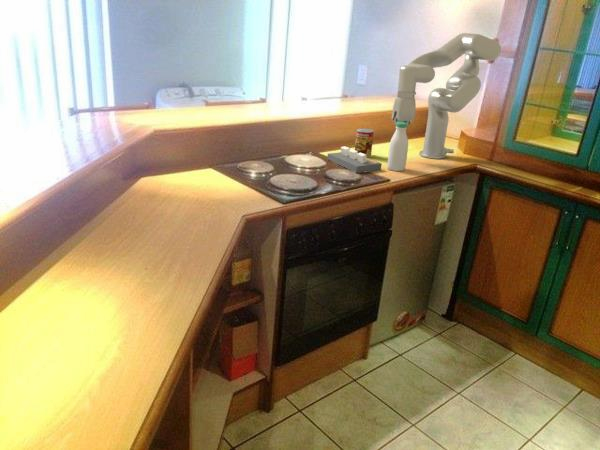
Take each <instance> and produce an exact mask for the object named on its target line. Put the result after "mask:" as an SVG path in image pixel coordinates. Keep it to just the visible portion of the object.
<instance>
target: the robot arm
mask: <svg viewBox="0 0 600 450" xmlns="http://www.w3.org/2000/svg"><path fill="white" fill-rule="evenodd" d="M501 52H502V46H501V44H500V43H499V42H498V41H497V40H495V39H493V38H489V37H487V36H485V35H483V34H480V33H467V32H462V33H459V34H458V35H455V37H453V38H451V40H449V41H448V42H447V43H445V44H443V45H442V46H441V47H439V48H437V49H434V50H432V51H429V52H426V53H424V54H422V55H420V56H417V57H416V58H414V59H413V60H412V61H411V62H409V63H408V65H407V64H406V65H402V66H400V68H399V74H398V76H399V77H398V83H397V84H398V85H397V94H396V98H395V99H394V102H393V107H392V113H391V120H392V121H393V125H396V123H397V122H405V123H407V128H408V127H409V125H410V124H413V123H414V119H415V117H416V98H415V97H416V94H417V92H416V89H417V88H416V87H417V83H419V84H420V83H421V84H427V83H430V82H432V81H433V80H434V79H435V76H436V72H435V71H436V70H435V69H436V68H442V67H447V66H450V65H452V63H454V62H455V61H457V59H460V58H461V57H462V56H463V55H464V61H463V64H462V65H461V66H460V68H458V69H457V70H456V71H455V72H454V73H453V74H452V75H451V76H450V77H449V78H448V79H447V81H446V83H445V88H443V87H437V88H436V87H435V88H434V89H432V90H431V91H430V93H429V94H428V99H427V100H428V101H427V104H428V106H427V107H428V111H427V112H428V116H427V121H426V129H425V135H424V142H423V147H422V148H423V149H422V150H420V151H419V153H418V154H419V156H421V157H424V158H428V159H435V160H437V159H438V160H439V159H444V158H446V157H447V154H454V152H455V150H454V149H452V148H448V147H447V148H446V147H445V144H446V137H447V132H448V126H449V118H450V117H449V113H458V112H461V111H462V110H463V109H464V108H465V107H466V106H468V104H469V103H470V102H471V101H473V100H474V98H476V96H477V95H478V93H479V92H480V89H481V86H482V84H481V83H482V82H481V79H480V78H479V77H478V76H479V74H480V61H481V60H482V61H490V62H492V61H494V60H497V59H498V58H499V56H500V55H501ZM448 112H449V113H448Z"/></svg>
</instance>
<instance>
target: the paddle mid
mask: <svg viewBox="0 0 600 450" xmlns="http://www.w3.org/2000/svg"><path fill="white" fill-rule="evenodd" d="M357 154H358V151H356V150H355V149H353V148H352V149H350V150H349V157H350V158H352V159H354V160H355V159H357Z"/></svg>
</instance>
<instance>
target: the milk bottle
mask: <svg viewBox="0 0 600 450" xmlns="http://www.w3.org/2000/svg"><path fill="white" fill-rule="evenodd" d="M408 150H409V139H408V135H407V123H405V122H397V123H396V124H395V131H394V133H393V135H392V136H391V139H390V142H389V148H388V156H387V157H388V158H387V165H386V168H387V170H390V171H393V172H404V171H405V170H406V166H407V159H408Z"/></svg>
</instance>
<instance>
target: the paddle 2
mask: <svg viewBox="0 0 600 450" xmlns="http://www.w3.org/2000/svg"><path fill="white" fill-rule="evenodd" d="M357 161H359V162H361V163H365V162H367V158H366V154H363V153H361V152H360V153H358V154H357Z"/></svg>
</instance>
